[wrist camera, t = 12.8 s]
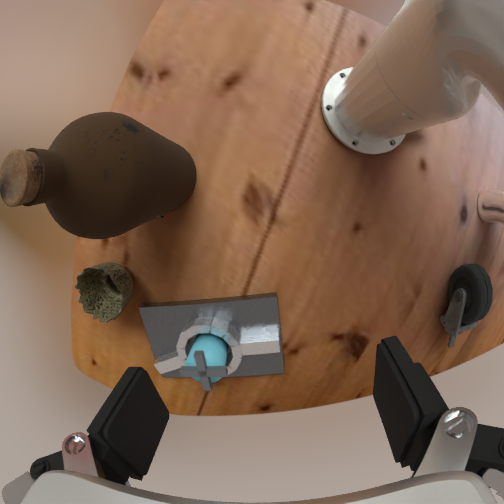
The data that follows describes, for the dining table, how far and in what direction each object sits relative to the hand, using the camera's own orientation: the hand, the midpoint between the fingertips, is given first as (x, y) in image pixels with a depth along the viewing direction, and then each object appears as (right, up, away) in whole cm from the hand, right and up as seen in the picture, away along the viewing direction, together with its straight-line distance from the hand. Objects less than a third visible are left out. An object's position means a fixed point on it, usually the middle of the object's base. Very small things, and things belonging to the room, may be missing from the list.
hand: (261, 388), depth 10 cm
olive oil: (-12, +15, +24) cm, 31 cm away
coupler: (-6, -8, +28) cm, 30 cm away
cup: (-19, +2, +28) cm, 34 cm away
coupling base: (-6, -8, +30) cm, 31 cm away
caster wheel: (+33, -3, +27) cm, 43 cm away
